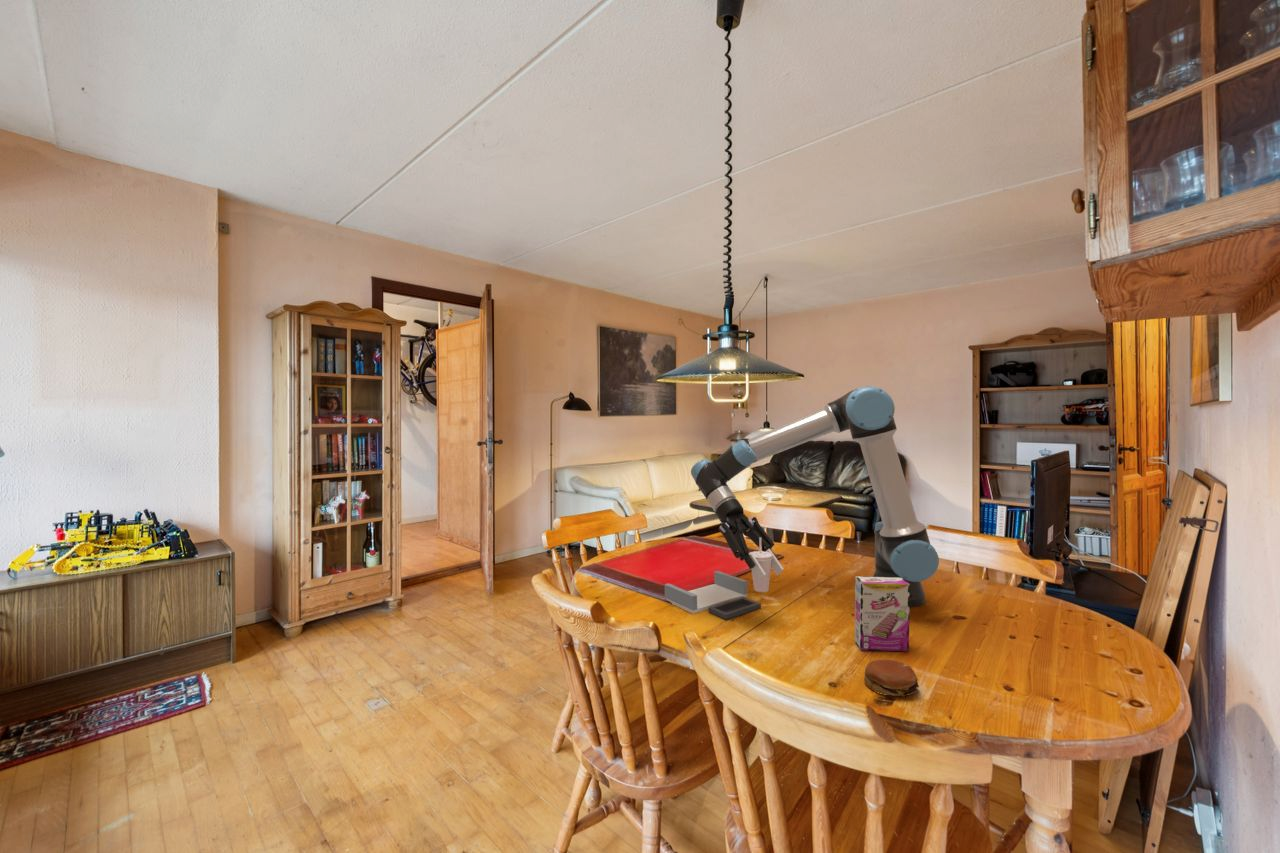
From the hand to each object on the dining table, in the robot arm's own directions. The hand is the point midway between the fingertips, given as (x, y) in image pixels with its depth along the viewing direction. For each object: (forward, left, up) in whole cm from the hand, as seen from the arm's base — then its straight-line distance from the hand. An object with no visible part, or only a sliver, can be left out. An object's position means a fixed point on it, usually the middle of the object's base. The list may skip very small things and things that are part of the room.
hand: (771, 574), depth 134 cm
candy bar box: (-24, -11, -14) cm, 30 cm away
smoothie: (+4, 0, -5) cm, 6 cm away
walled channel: (+26, 0, -14) cm, 29 cm away
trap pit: (+14, 0, -14) cm, 20 cm away
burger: (-34, +4, -14) cm, 37 cm away
